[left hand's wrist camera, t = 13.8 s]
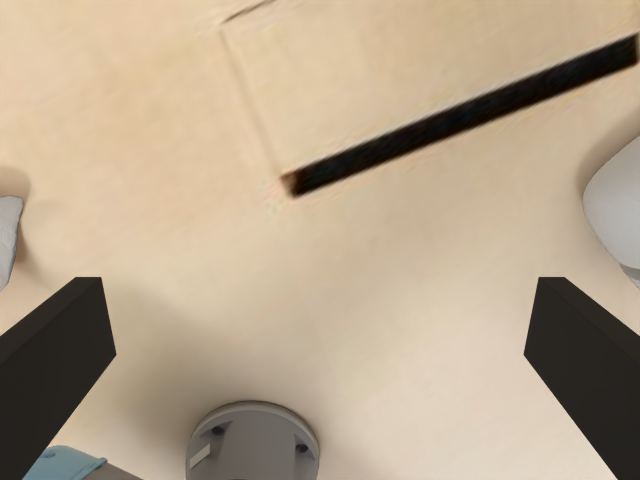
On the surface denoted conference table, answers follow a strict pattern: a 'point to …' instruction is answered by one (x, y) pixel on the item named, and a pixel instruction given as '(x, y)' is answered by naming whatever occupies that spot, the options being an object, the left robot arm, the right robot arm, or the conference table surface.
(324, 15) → the conference table surface
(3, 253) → the red white irregular piece
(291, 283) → the conference table surface
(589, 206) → the projector
